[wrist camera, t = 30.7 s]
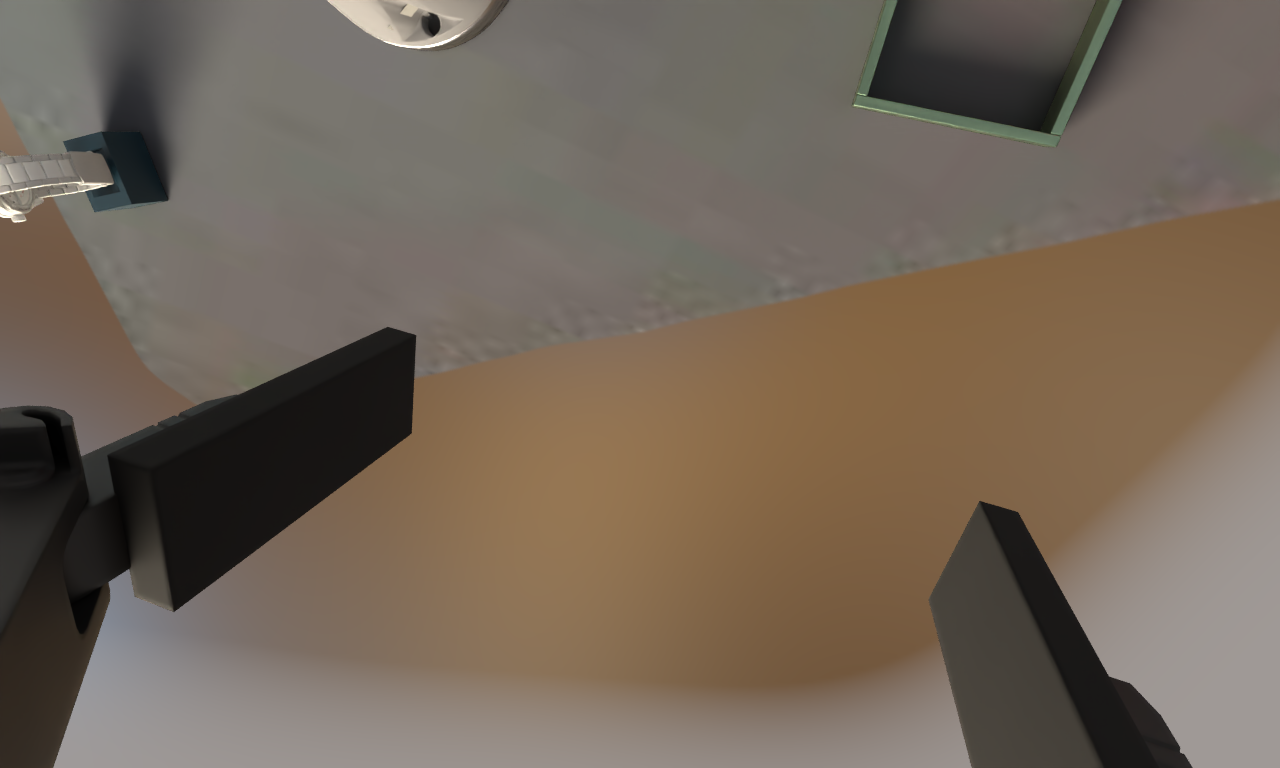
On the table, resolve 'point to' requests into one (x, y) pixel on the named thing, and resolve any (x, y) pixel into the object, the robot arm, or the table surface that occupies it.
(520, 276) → the table surface
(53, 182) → the watch
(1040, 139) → the can caddy
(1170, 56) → the table surface
